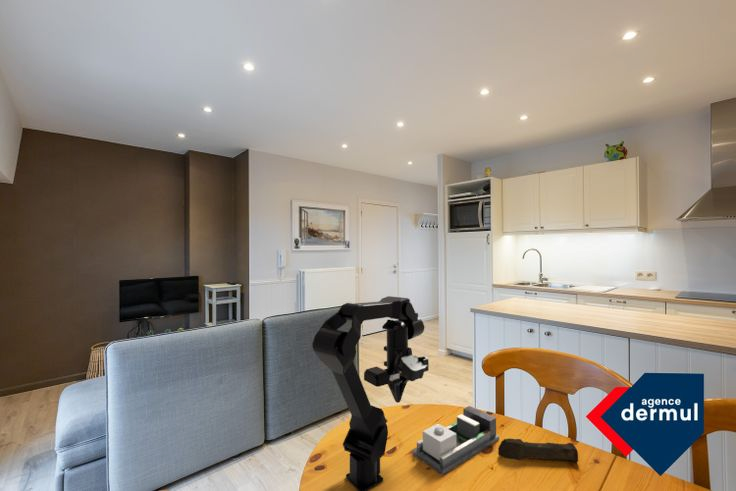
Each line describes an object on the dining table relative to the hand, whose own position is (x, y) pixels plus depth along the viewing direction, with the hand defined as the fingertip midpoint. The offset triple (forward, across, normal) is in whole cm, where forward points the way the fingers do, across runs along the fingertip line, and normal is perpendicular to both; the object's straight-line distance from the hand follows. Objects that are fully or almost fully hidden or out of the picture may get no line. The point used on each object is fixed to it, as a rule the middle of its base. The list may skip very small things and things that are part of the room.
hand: (397, 401), depth 87 cm
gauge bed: (+12, +14, -9) cm, 20 cm away
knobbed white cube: (+11, +6, -9) cm, 16 cm away
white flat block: (+11, +18, -9) cm, 23 cm away
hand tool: (+13, +25, -25) cm, 38 cm away
